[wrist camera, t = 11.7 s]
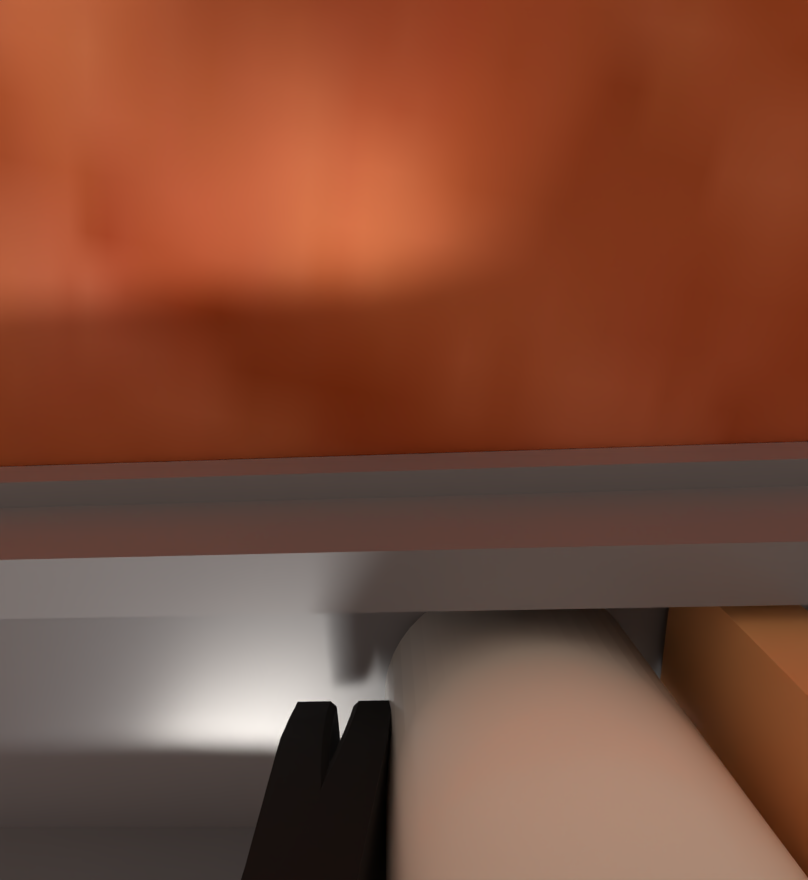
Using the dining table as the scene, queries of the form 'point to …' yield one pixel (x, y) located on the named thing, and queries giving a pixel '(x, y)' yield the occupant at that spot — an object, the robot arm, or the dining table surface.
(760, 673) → the pusher plate
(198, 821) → the lane tray
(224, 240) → the dining table surface
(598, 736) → the jar
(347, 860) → the robot arm
